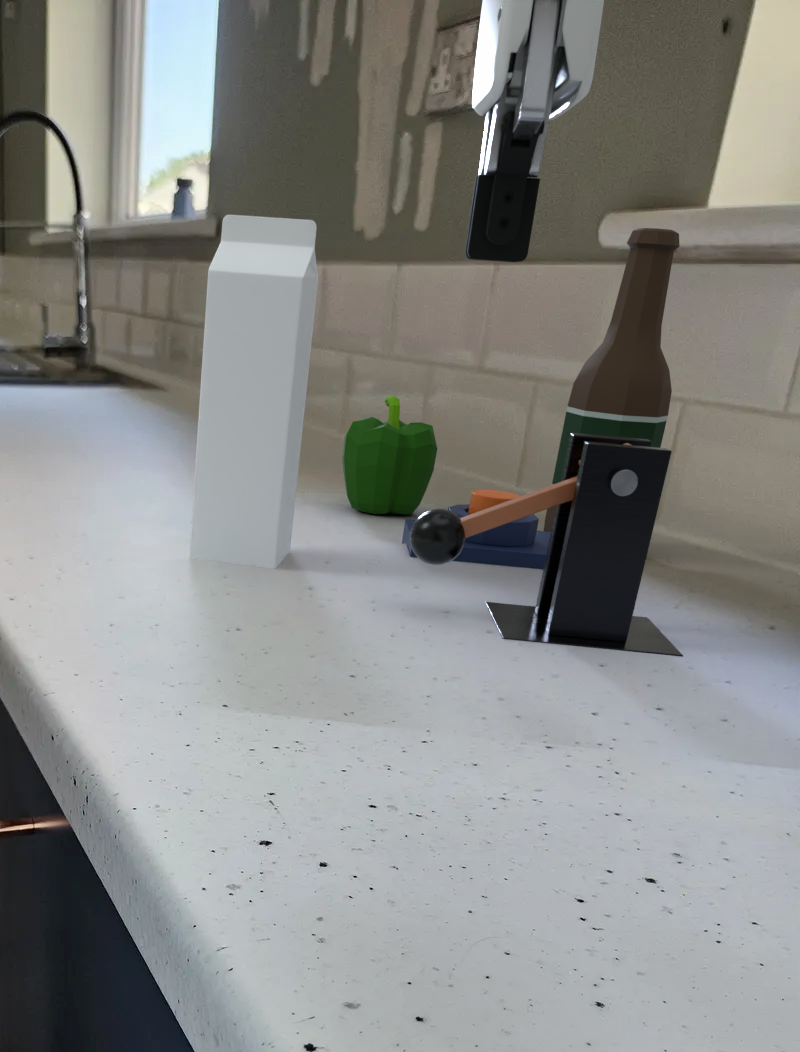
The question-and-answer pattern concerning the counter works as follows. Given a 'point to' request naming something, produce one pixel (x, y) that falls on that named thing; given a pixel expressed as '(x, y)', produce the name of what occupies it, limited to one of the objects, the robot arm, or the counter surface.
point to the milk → (253, 389)
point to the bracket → (597, 552)
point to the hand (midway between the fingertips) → (494, 259)
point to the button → (488, 499)
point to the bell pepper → (388, 463)
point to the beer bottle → (627, 357)
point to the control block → (499, 542)
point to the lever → (479, 522)
